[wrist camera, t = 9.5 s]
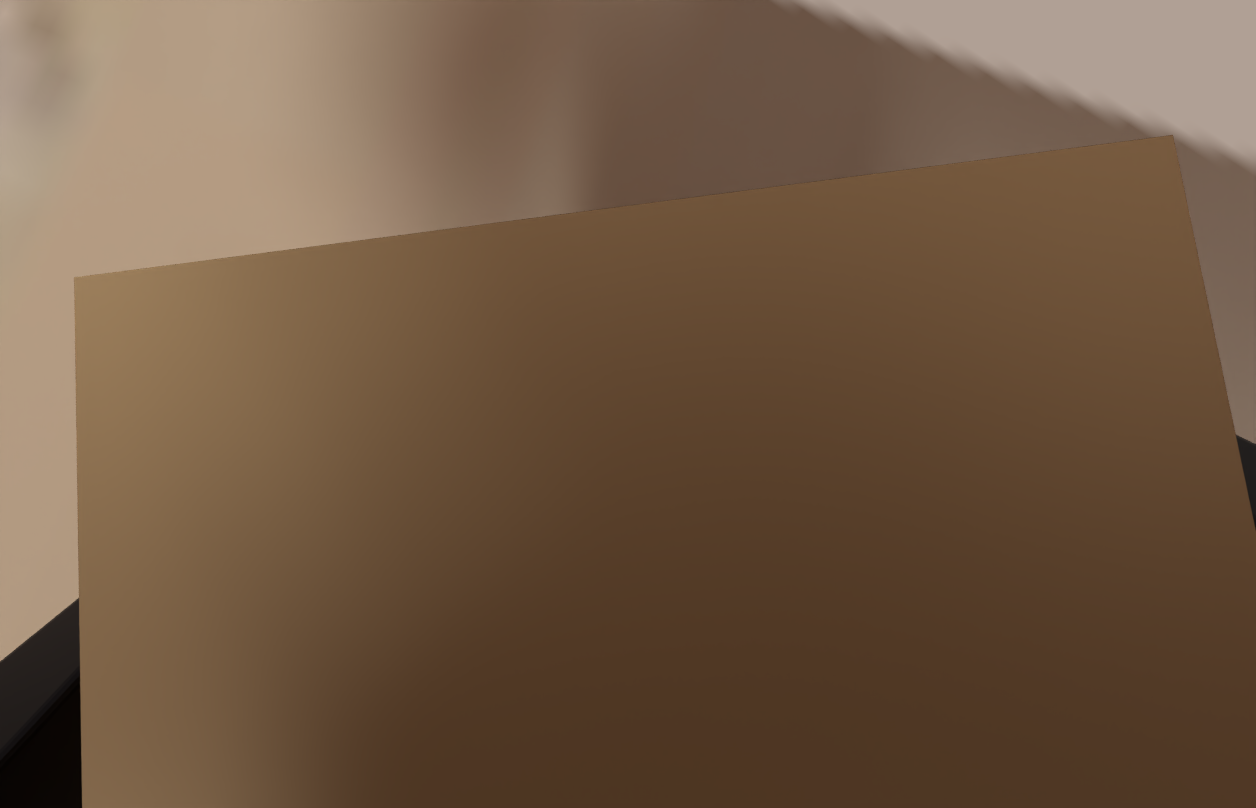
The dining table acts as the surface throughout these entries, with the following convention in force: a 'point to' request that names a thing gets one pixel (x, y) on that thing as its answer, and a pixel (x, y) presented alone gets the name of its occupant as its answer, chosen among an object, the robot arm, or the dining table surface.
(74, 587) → the dining table surface
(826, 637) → the oak block
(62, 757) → the robot arm
